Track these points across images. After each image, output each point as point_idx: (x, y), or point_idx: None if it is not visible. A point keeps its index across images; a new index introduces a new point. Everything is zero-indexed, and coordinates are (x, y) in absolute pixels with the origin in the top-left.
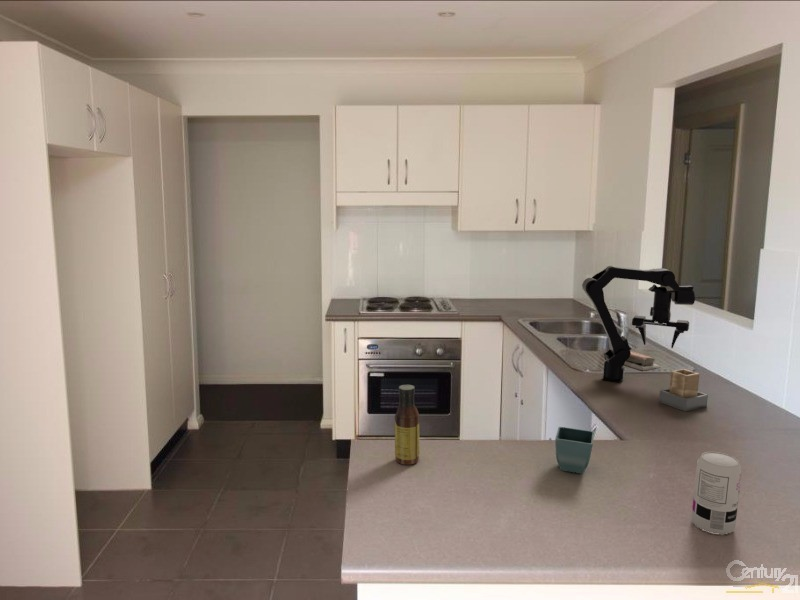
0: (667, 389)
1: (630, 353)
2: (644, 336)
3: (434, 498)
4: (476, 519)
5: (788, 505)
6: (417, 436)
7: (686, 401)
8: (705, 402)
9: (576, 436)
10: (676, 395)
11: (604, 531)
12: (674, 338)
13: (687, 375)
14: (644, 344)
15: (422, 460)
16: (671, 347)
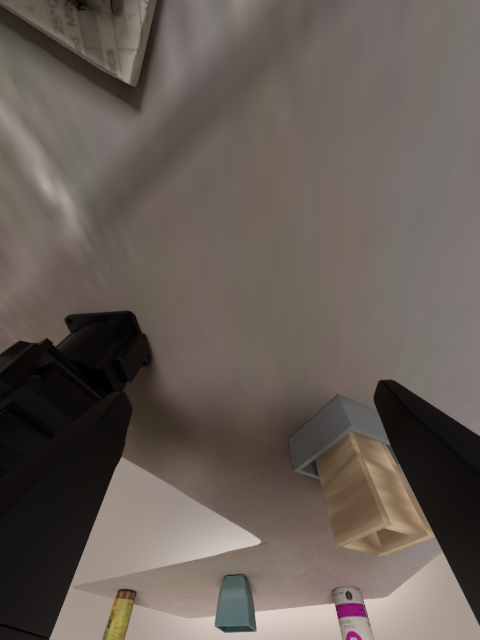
0: (311, 461)
1: (121, 453)
2: (85, 540)
3: (179, 601)
4: (213, 604)
5: (414, 571)
6: (126, 629)
7: None
8: None
9: (233, 614)
10: None
11: (281, 599)
12: (475, 576)
13: (385, 554)
14: (125, 415)
15: (134, 589)
16: (377, 409)
